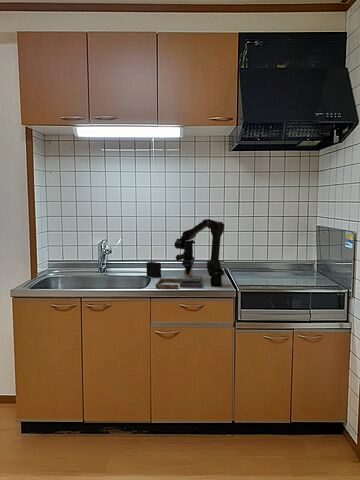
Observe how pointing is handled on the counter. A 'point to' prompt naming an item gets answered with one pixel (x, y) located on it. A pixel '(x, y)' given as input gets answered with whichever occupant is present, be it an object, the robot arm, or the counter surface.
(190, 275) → the beech cube
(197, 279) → the platform
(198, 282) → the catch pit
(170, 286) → the cubby
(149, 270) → the electronic device
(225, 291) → the counter surface
